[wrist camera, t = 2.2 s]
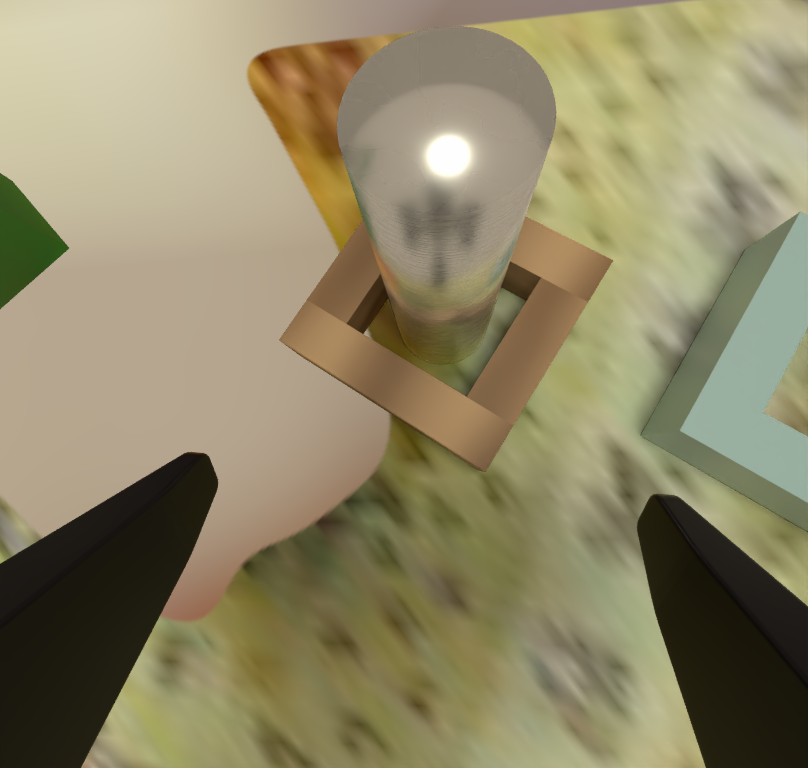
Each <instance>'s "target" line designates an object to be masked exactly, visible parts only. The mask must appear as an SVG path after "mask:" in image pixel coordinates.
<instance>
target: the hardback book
mask: <svg viewBox="0 0 808 768" xmlns="http://www.w3.org/2000/svg"><path fill="white" fill-rule="evenodd" d="M68 249H69V247H68V246H67V245H66V244H65V242H64V241H63V240H62V239H61V238H60V237H59V235H58V234H57V233H56V232H55V231H54V230H53V228H52V227H51V226H50V225H49V224H48V222H47V221H46V220H45V219H44V218H43V217H42V215H41V214H40V213H39V212H38V211H37V210H36V208H35V207H34V206H33V205H32V204H31V203H30V202H29V200H28V199H27V198H26V197H25V195H24V194H23V193H22V192H21V191H20V190H19V188H18V187H17V186H16V185H15V184H14V183H13V181H11V180H10V179H8V178H7V177H5V176H4V175H2V174H1V173H0V309H1V308H2V307H3V306H4V305H5V304H7V303H8V302H9V301H10V300H11V299H12V298H13V297H14V296H15V295H17V294H18V293H19V292H20V291H21V290H22V289H24V288H25V287H26V286H27V285H28V284H29V283H30V282H32V281H33V280H34V279H35V278H36V277H37V276H38V275H39V274H41V273H42V272H43V271H44V270H45V269H46V268H47V267H49V266H50V265H51V264H52V263H53V262H54V261H55V260H57V259H58V258H59V257H60V256H61V255H62V254H63V253H64V252H66V251H67V250H68Z"/></svg>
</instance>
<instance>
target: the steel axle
mask: <svg viewBox="0 0 808 768" xmlns="http://www.w3.org/2000/svg"><path fill="white" fill-rule="evenodd" d="M555 123H556V105H555V98H554V94H553V90H552V87H551V85H550V82H549V80H548V78H547V76H546V74H545V73H544V71H543V69H542V68H541V66H540V65H539V64H538V63H537V61H536V60H535V59H534V58H533V57H532V56H531V55H530V54H529V53H528V52H527V51H525V50H524V49H523V48H522V47H520V46H519V45H517V44H516V43H514V42H513V41H511V40H509V39H507V38H505V37H503V36H501V35H499V34H496V33H493V32H490V31H487V30H482V29H478V28H472V27H463V26H445V27H436V28H430V29H426V30H421V31H418V32H415V33H412V34H409V35H406V36H404V37H402V38H399V39H397V40H395V41H393V42H391V43H390V44H388V45H386V46H385V47H383V48H382V49H380V50H379V51H378V52H376V53H375V54H374V55H372V56H371V57H370V58H369V59H368V60H367V61H366V62H365V63H364V64H363V65H362V66H361V67H360V69H359V70H358V71H357V72H356V73H355V75H354V76H353V78H352V79H351V81H350V83H349V84H348V86H347V88H346V90H345V92H344V95H343V97H342V100H341V103H340V107H339V112H338V118H337V134H338V142H339V146H340V149H341V153H342V156H343V159H344V162H345V165H346V168H347V171H348V174H349V178H350V181H351V184H352V187H353V190H354V193H355V196H356V199H357V202H358V205H359V208H360V211H361V214H362V217H363V221H364V224H365V227H366V230H367V233H368V236H369V239H370V242H371V245H372V248H373V251H374V254H375V257H376V260H377V263H378V267H379V270H380V273H381V276H382V279H383V282H384V285H385V288H386V291H387V294H388V297H389V300H390V303H391V306H392V309H393V313H394V316H395V319H396V322H397V325H398V328H399V331H400V334H401V337H402V339H403V341H404V343H405V345H406V346H407V348H408V349H409V350H410V351H411V352H412V353H413V354H414V355H416V356H417V357H419V358H420V359H422V360H424V361H427V362H430V363H434V364H450V363H455V362H458V361H460V360H463V359H465V358H466V357H468V356H469V355H471V354H472V353H473V352H474V351H475V350H476V349H477V348H478V346H479V345H480V344H481V342H482V340H483V338H484V335H485V333H486V330H487V327H488V324H489V321H490V318H491V315H492V312H493V309H494V307H495V304H496V301H497V298H498V295H499V292H500V289H501V286H502V283H503V280H504V277H505V275H506V272H507V269H508V266H509V263H510V260H511V257H512V254H513V251H514V248H515V245H516V242H517V240H518V237H519V234H520V231H521V228H522V225H523V222H524V219H525V216H526V213H527V210H528V208H529V205H530V202H531V199H532V196H533V193H534V190H535V187H536V184H537V181H538V178H539V176H540V173H541V170H542V167H543V164H544V161H545V158H546V155H547V152H548V149H549V146H550V143H551V141H552V138H553V133H554V129H555Z"/></svg>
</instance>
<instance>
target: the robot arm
mask: <svg viewBox="0 0 808 768" xmlns="http://www.w3.org/2000/svg"><path fill="white" fill-rule="evenodd" d="M217 488H218V479H217V476H216V473H215V471H214V468H213V465H212V463H211V460H210V458H209V456H208V455H207V454H204V453H196V452H187V453H184V454H183V455H181V456H179V457H177V458H176V459H174V460H172V461H171V462H169V463H167V464H166V465H164V466H162V467H161V468H159V469H158V470H156V471H154V472H153V473H151V474H149V475H148V476H146V477H144V478H142V479H141V480H139V481H137V482H136V483H134V484H133V485H131V486H129V487H127V488H126V489H124V490H122V491H121V492H119V493H117V494H116V495H114V496H112V497H111V498H109V499H107V500H106V501H104V502H102V503H101V504H99V505H97V506H96V507H94V508H92V509H91V510H89V511H88V512H86V513H84V514H82V515H81V516H79V517H78V518H76V519H74V520H72V521H71V522H69V523H67V524H66V525H64V526H62V527H61V528H59V529H57V530H56V531H54V532H52V533H51V534H49V535H47V536H46V537H44V538H42V539H41V540H39V541H37V542H36V543H34V544H32V545H31V546H29V547H27V548H26V549H24V550H22V551H21V552H19V553H17V554H16V555H14V556H12V557H11V558H9V559H7V560H6V561H4V562H2V563H1V564H0V768H81V767H82V765H83V763H84V761H85V759H86V757H87V755H88V753H89V751H90V749H91V747H92V746H93V744H94V742H95V740H96V738H97V736H98V734H99V732H100V730H101V728H102V726H103V724H104V722H105V720H106V719H107V717H108V715H109V713H110V711H111V709H112V707H113V705H114V703H115V701H116V699H117V697H118V695H119V693H120V692H121V690H122V688H123V686H124V684H125V682H126V680H127V678H128V676H129V674H130V672H131V670H132V668H133V666H134V665H135V663H136V661H137V659H138V657H139V655H140V653H141V651H142V649H143V647H144V645H145V643H146V641H147V640H148V638H149V636H150V634H151V632H152V630H153V628H154V626H155V624H156V622H157V620H158V618H159V616H160V614H161V613H162V611H163V609H164V606H165V605H166V603H167V601H168V599H169V597H170V595H171V593H172V591H173V589H174V587H175V586H176V584H177V582H178V580H179V578H180V576H181V574H182V572H183V570H184V568H185V566H186V564H187V562H188V560H189V558H190V556H191V554H192V551H193V549H194V547H195V544H196V542H197V539H198V537H199V534H200V532H201V529H202V527H203V524H204V522H205V519H206V517H207V514H208V512H209V509H210V507H211V504H212V502H213V499H214V497H215V494H216V492H217ZM637 532H638V537H639V542H640V546H641V551H642V556H643V560H644V565H645V570H646V574H647V579H648V584H649V588H650V593H651V598H652V602H653V606H654V610H655V614H656V617H657V620H658V624H659V627H660V630H661V633H662V636H663V639H664V642H665V645H666V648H667V651H668V654H669V657H670V660H671V663H672V666H673V669H674V672H675V675H676V678H677V682H678V685H679V688H680V691H681V694H682V697H683V700H684V703H685V706H686V709H687V712H688V715H689V718H690V721H691V724H692V727H693V730H694V733H695V736H696V739H697V742H698V745H699V748H700V751H701V754H702V757H703V760H704V763H705V767H706V768H808V606H807V605H806V604H804V603H803V602H802V601H801V600H800V599H799V598H797V597H796V596H795V595H794V594H793V593H792V592H790V591H789V590H788V589H787V588H786V587H784V586H783V585H782V584H781V583H780V582H779V581H777V580H776V579H775V578H774V577H773V576H772V575H770V574H769V573H768V572H767V571H766V570H764V569H763V568H762V567H761V566H760V565H759V564H757V563H756V562H755V561H754V560H753V559H752V558H750V557H749V556H748V555H747V554H746V553H744V552H743V551H742V550H741V549H740V548H739V547H737V546H736V545H735V544H734V543H733V542H731V541H730V540H729V539H728V538H727V537H726V536H724V535H723V534H722V533H721V532H720V531H719V530H717V529H716V528H715V527H714V526H713V525H711V524H710V523H709V522H708V521H707V520H706V519H704V518H703V517H702V516H701V515H700V514H699V513H697V512H696V511H695V510H694V509H693V508H691V507H690V506H689V505H688V504H687V503H686V502H684V501H683V500H682V499H681V498H679V497H677V496H674V495H665V494H653V495H652V496H650V498H649V500H648V502H647V504H646V506H645V508H644V509H643V511H642V513H641V515H640V517H639V519H638V523H637Z"/></svg>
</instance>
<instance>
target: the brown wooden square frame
mask: <svg viewBox="0 0 808 768" xmlns="http://www.w3.org/2000/svg"><path fill="white" fill-rule="evenodd" d="M612 262H613V260H611V259H609V258H607V257H605V256H603V255H601V254H599V253H597V252H595V251H593V250H591V249H589V248H587V247H585V246H583V245H581V244H579V243H577V242H575V241H573V240H571V239H569V238H567V237H565V236H563V235H561V234H559V233H557V232H555V231H553V230H551V229H550V228H548V227H546V226H544V225H542V224H540V223H538V222H536V221H534V220H532V219H530V218H528V217H526V216H525V219H524V222H523V225H522V228H521V231H520V234H519V237H518V240H517V242H516V245H515V248H514V251H513V254H512V257H511V260H510V263H509V266H508V269H507V272H506V275H505V277H504V280H503V283H502V286H501V287H503V288H505V289H507V290H509V291H510V292H512V293H514V294H516V295H518V296H520V297H522V298H523V299H525V300H527V301H526V303H525V304H524V306H523V308H522V309H521V311H520V312H519V314H518V316H517V317H516V319H515V320H514V322H513V324H512V325H511V327H510V328H509V330H508V332H507V333H506V335H505V336H504V338H503V340H502V341H501V343H500V344H499V346H498V348H497V349H496V351H495V352H494V354H493V356H492V357H491V359H490V360H489V362H488V363H487V365H486V367H485V368H484V370H483V371H482V373H481V375H480V376H479V378H478V379H477V381H476V383H475V384H474V386H473V387H472V389H471V391H470V392H469V394H468V395H467V397H466V396H464V395H462V394H461V393H459V392H458V391H456V390H454V389H453V388H451V387H449V386H448V385H446V384H444V383H443V382H441V381H439V380H438V379H436V378H434V377H433V376H431V375H430V374H428V373H426V372H425V371H423V370H421V369H420V368H418V367H416V366H415V365H413V364H411V363H410V362H408V361H407V360H405V359H403V358H402V357H400V356H398V355H397V354H395V353H393V352H392V351H390V350H388V349H387V348H385V347H383V346H382V345H380V344H379V343H377V342H375V341H374V340H372V339H370V338H369V337H367V336H365V335H364V332H365V331H366V329H367V328H368V326H369V325H370V323H371V322H372V320H373V319H374V317H375V316H376V314H377V313H378V311H379V310H380V308H381V307H382V305H383V304H384V302H385V301H386V300H387V298H388V294H387V291H386V288H385V285H384V282H383V279H382V276H381V273H380V270H379V267H378V263H377V260H376V257H375V254H374V251H373V248H372V245H371V242H370V239H369V236H368V233H367V230H366V227H365V224H364V221H363V220H362V222H361V223H360V225H359V226H358V228H357V229H356V230H355V232H354V233H353V235H352V236H351V238H350V239H349V240H348V242H347V243H346V245H345V246H344V248H343V249H342V250H341V252H340V253H339V255H338V256H337V258H336V259H335V261H334V262H333V263H332V265H331V266H330V268H329V269H328V271H327V272H326V274H325V275H324V276H323V278H322V279H321V281H320V282H319V283H318V285H317V286H316V288H315V289H314V291H313V292H312V293H311V295H310V296H309V298H308V299H307V301H306V302H305V304H304V305H303V306H302V308H301V309H300V311H299V312H298V314H297V315H296V316H295V318H294V319H293V321H292V322H291V324H290V325H289V327H288V328H287V329H286V331H285V332H284V334H283V335H282V337H281V338H280V339H279V340H280V341H281V342H283V343H284V344H285V345H286V346H288V347H289V348H291V349H292V350H293V351H295V352H296V353H297V354H299V355H300V356H302V357H303V358H305V359H306V360H308V361H310V362H311V363H313V364H314V365H316V366H317V367H319V368H320V369H322V370H324V371H325V372H327V373H328V374H330V375H331V376H333V377H334V378H336V379H337V380H339V381H341V382H342V383H344V384H345V385H347V386H348V387H350V388H352V389H353V390H355V391H356V392H358V393H360V394H361V395H363V396H364V397H366V398H367V399H369V400H370V401H372V402H374V403H375V404H377V405H378V406H380V407H381V408H383V409H384V410H386V411H387V412H389V413H391V414H392V415H394V416H395V417H397V418H398V419H400V420H401V421H403V422H405V423H406V424H408V425H409V426H411V427H412V428H414V429H416V430H417V431H419V432H420V433H422V434H423V435H425V436H426V437H428V438H430V439H431V440H433V441H434V442H436V443H437V444H439V445H440V446H442V447H444V448H445V449H447V450H448V451H450V452H451V453H453V454H455V455H456V456H458V457H459V458H461V459H462V460H464V461H465V462H467V463H469V464H470V465H472V466H473V467H475V468H476V469H478V470H480V471H484V472H486V470H487V468H488V467H489V465H490V463H491V462H492V460H493V458H494V457H495V455H496V453H497V452H498V450H499V448H500V447H501V445H502V443H503V442H504V440H505V438H506V437H507V435H508V434H509V432H510V430H511V429H512V427H513V425H514V424H515V422H516V420H517V419H518V417H519V415H520V414H521V412H522V410H523V409H524V407H525V405H526V404H527V402H528V400H529V399H530V397H531V395H532V394H533V392H534V391H535V389H536V387H537V386H538V384H539V382H540V381H541V379H542V377H543V376H544V374H545V372H546V371H547V369H548V367H549V366H550V364H551V362H552V361H553V359H554V357H555V356H556V354H557V353H558V351H559V349H560V348H561V346H562V344H563V343H564V341H565V339H566V338H567V336H568V334H569V333H570V331H571V329H572V328H573V326H574V324H575V323H576V321H577V319H578V318H579V316H580V314H581V313H582V311H583V310H584V308H585V306H586V305H587V303H588V301H589V300H590V298H591V296H592V295H593V293H594V291H595V290H596V288H597V286H598V285H599V283H600V281H601V280H602V278H603V276H604V275H605V273H606V272H607V270H608V268H609V267H610V265H611V263H612Z"/></svg>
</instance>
